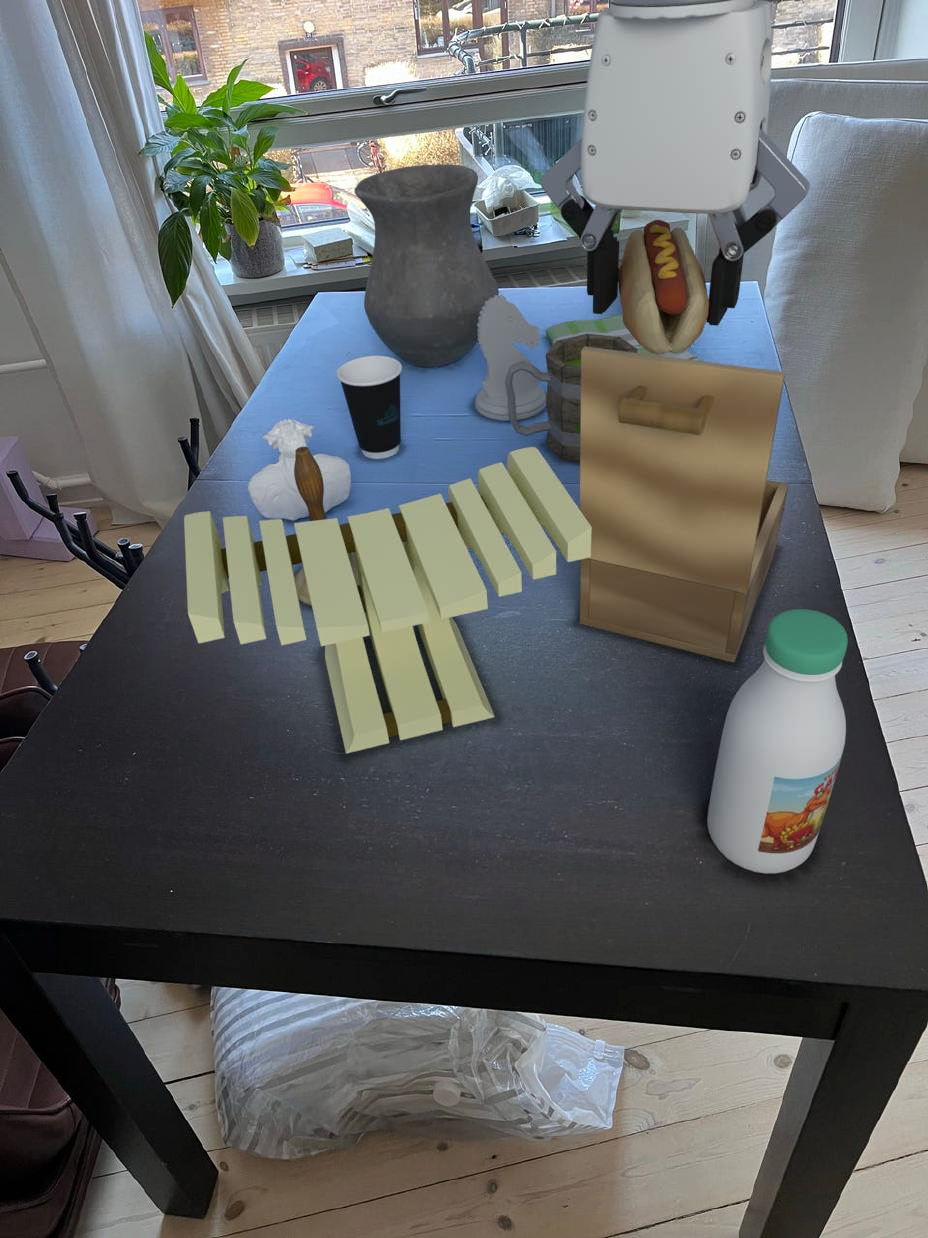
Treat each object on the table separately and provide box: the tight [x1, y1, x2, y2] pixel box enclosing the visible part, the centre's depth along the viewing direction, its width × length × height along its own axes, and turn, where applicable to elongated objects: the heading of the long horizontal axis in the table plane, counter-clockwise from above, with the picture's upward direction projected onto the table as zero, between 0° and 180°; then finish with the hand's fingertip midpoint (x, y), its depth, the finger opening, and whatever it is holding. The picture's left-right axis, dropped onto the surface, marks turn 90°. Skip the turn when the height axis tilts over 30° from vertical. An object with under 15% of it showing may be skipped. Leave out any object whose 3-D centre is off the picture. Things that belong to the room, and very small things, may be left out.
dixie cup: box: [336, 355, 403, 460], centre depth 110 cm, size 8×8×11 cm
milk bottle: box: [706, 608, 848, 874], centre depth 59 cm, size 8×8×20 cm
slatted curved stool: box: [183, 446, 592, 754], centre depth 76 cm, size 30×16×18 cm, turn 105°
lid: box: [579, 346, 786, 593], centre depth 69 cm, size 20×15×5 cm
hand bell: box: [294, 446, 360, 607], centre depth 88 cm, size 8×8×16 cm
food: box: [618, 219, 709, 355], centre depth 56 cm, size 14×6×5 cm, turn 175°
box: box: [578, 479, 790, 664], centre depth 86 cm, size 19×15×8 cm
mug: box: [505, 334, 638, 464], centre depth 108 cm, size 16×11×12 cm
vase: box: [354, 163, 500, 368], centre depth 126 cm, size 20×19×25 cm
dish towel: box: [545, 313, 702, 361], centre depth 128 cm, size 17×23×4 cm
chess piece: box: [474, 294, 547, 422], centre depth 116 cm, size 10×10×15 cm
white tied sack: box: [246, 418, 352, 521], centre depth 102 cm, size 12×8×11 cm
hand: (659, 309), depth 58 cm, fingers closed on food, 6 cm apart
